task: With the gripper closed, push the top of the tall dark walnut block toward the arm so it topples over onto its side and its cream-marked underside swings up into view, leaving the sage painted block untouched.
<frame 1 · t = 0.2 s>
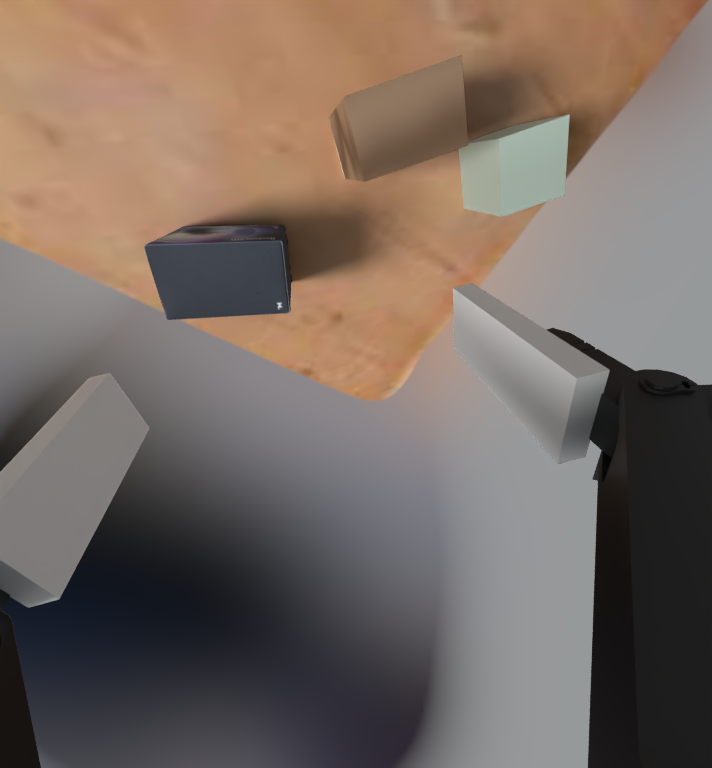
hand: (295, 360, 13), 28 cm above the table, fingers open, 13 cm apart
small box: (239, 254, 36), on the table
walnut block: (376, 135, 33), on the table
sage block: (488, 168, 36), on the table
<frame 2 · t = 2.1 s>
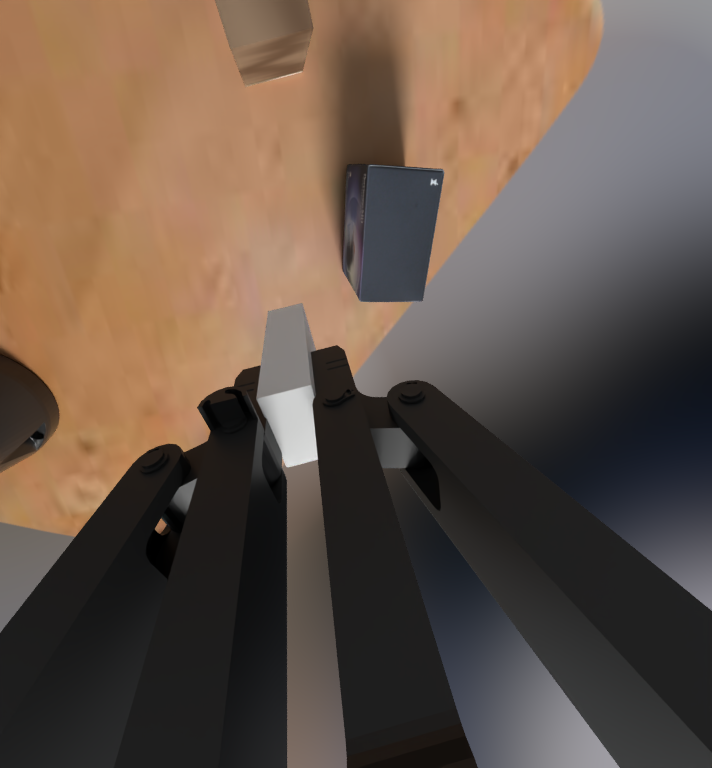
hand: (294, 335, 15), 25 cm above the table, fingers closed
small box: (370, 222, 36), on the table
walnut block: (256, 13, 27), on the table
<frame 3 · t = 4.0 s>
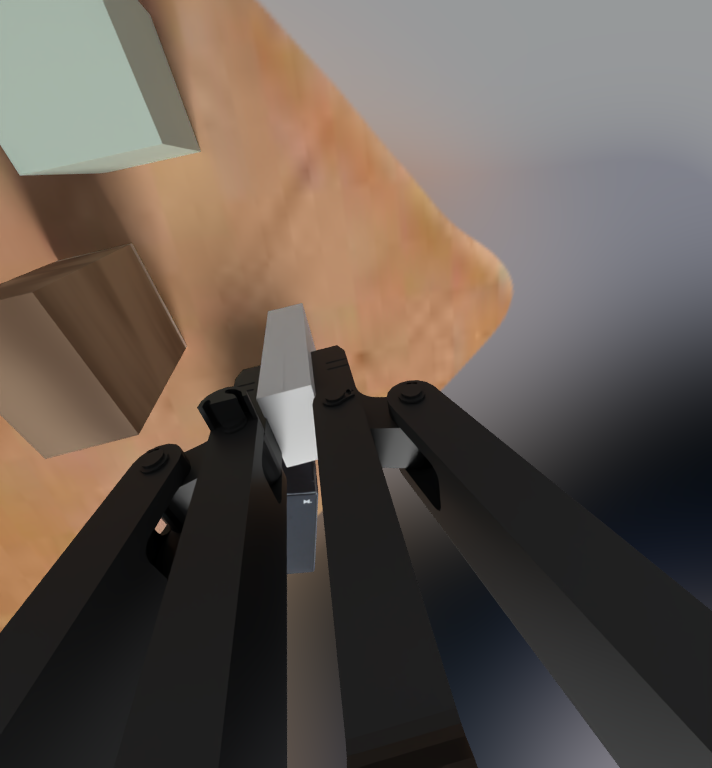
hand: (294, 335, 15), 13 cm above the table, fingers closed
small box: (279, 446, 35), on the table
walnut block: (128, 307, 25), on the table
sage block: (125, 100, 19), on the table
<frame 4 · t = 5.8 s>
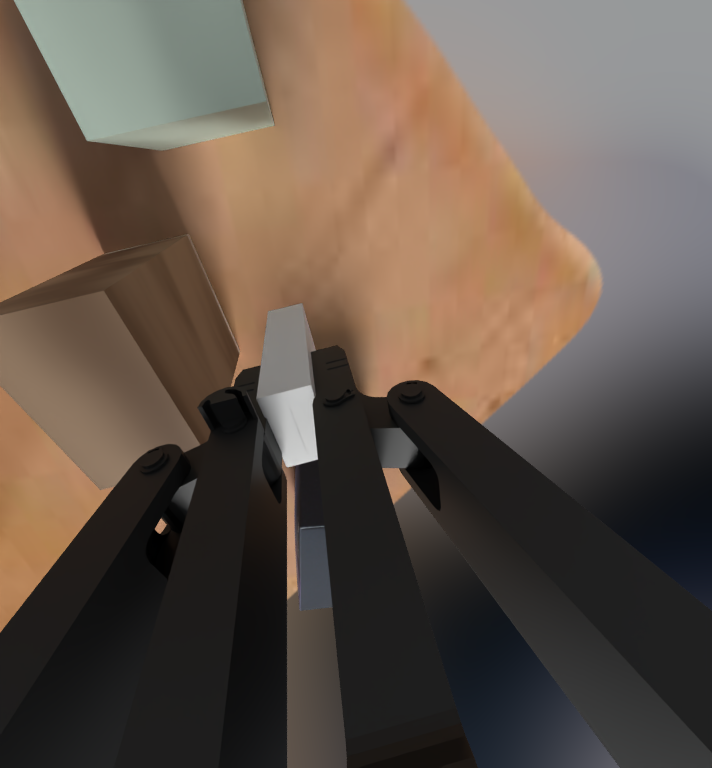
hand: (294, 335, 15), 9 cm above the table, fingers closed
small box: (328, 459, 32), on the table
walnut block: (179, 307, 22), on the table
sage block: (193, 61, 16), on the table
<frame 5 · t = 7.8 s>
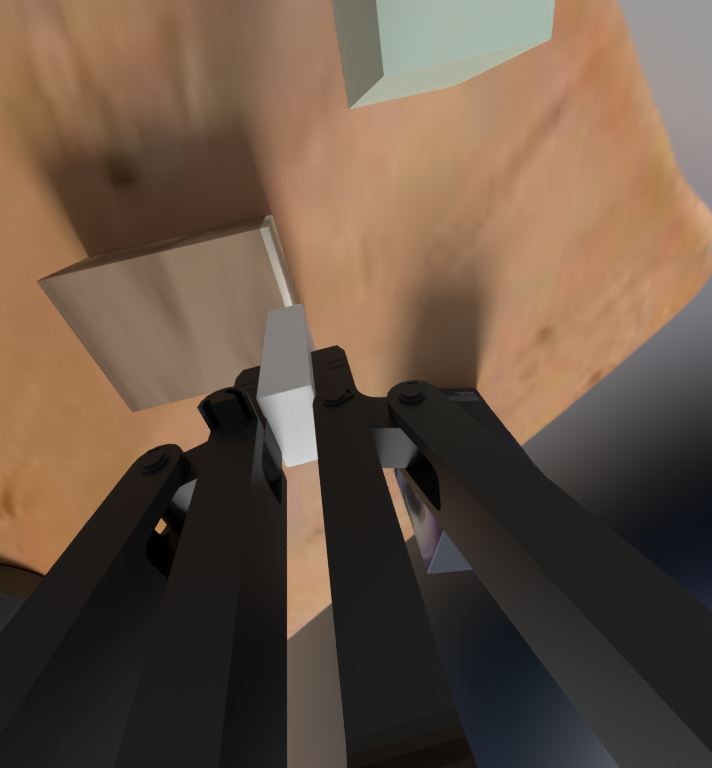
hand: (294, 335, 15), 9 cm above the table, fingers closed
small box: (430, 432, 32), on the table
walnut block: (292, 291, 20), point 2 cm above the table, tilted 90°
sage block: (396, 18, 17), on the table
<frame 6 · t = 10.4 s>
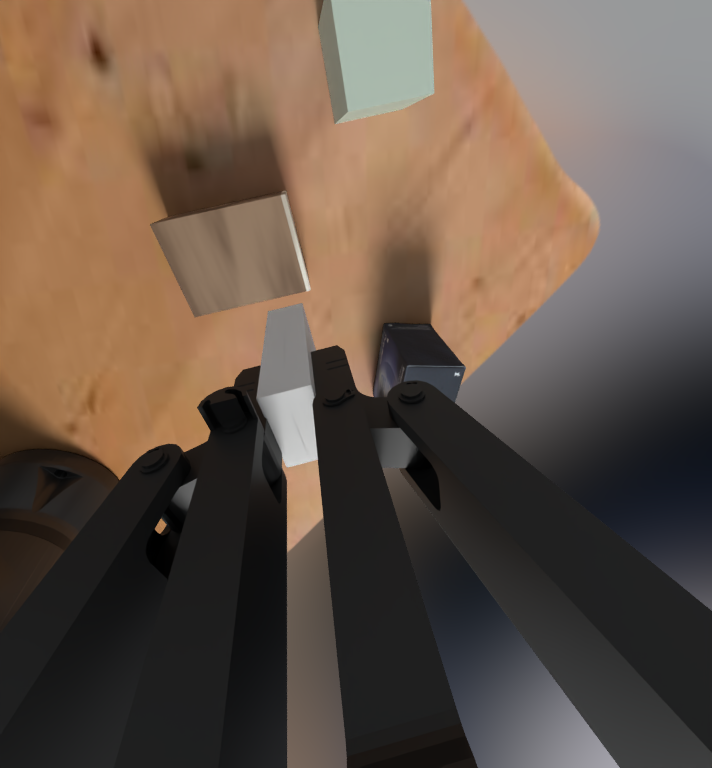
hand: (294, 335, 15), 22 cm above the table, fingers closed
small box: (398, 360, 43), on the table
walnut block: (298, 240, 31), point 2 cm above the table, tilted 90°
sage block: (362, 71, 28), on the table
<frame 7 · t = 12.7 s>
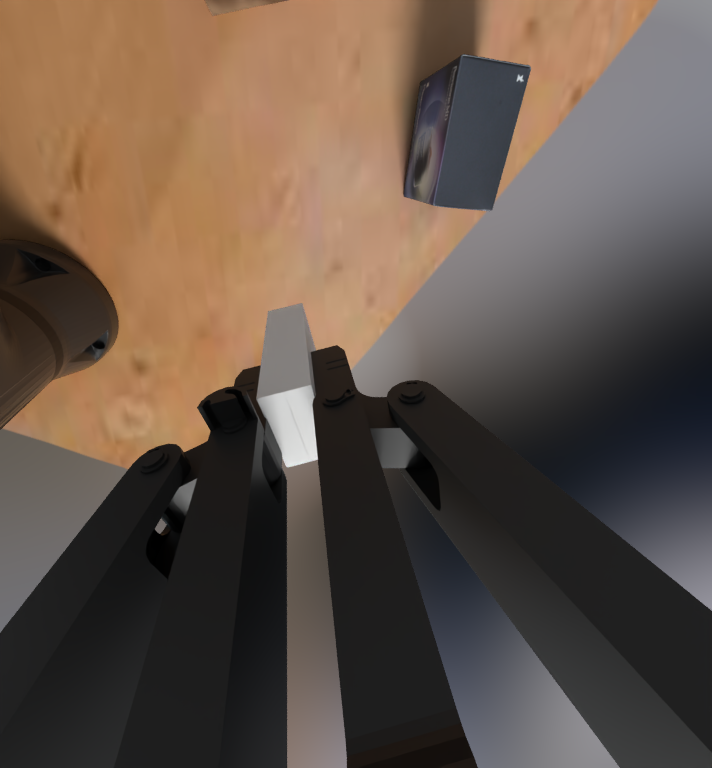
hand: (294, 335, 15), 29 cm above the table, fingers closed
small box: (434, 146, 38), on the table
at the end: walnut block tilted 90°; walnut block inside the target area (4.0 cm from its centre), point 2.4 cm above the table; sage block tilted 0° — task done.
